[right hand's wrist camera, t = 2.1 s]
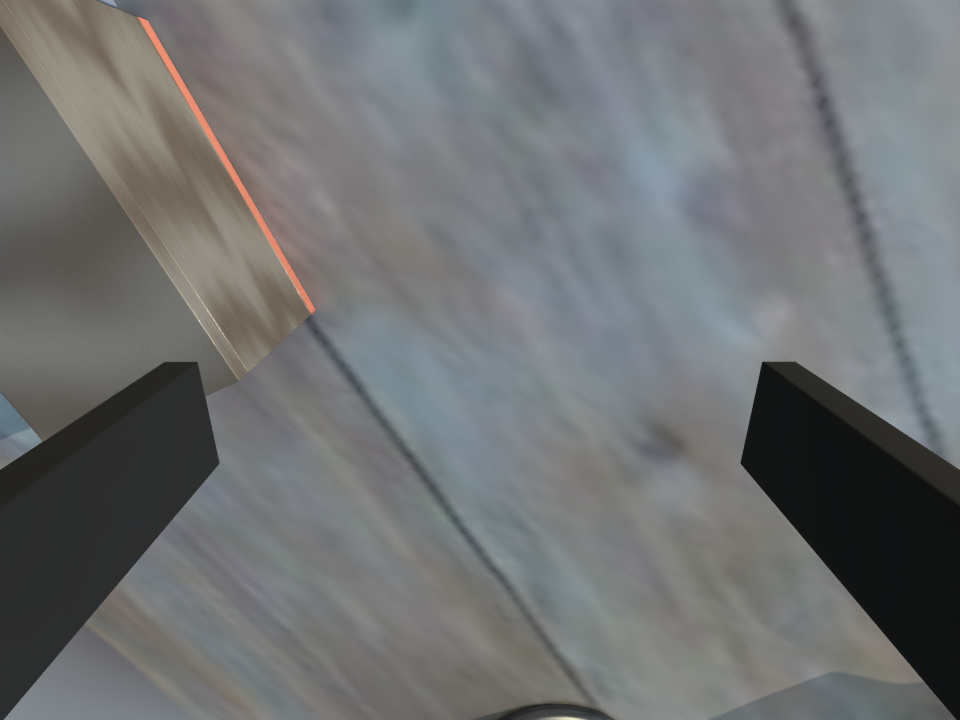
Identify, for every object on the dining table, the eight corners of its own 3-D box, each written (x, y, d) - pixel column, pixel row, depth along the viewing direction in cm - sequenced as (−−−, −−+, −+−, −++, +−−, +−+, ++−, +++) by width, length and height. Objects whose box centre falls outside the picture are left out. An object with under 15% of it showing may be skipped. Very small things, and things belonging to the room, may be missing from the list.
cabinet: (1, 105, 29) (-272, 76, 19) (147, 20, 28) (-59, -65, 17) (187, 369, 35) (59, 461, 24) (315, 310, 34) (239, 381, 23)
